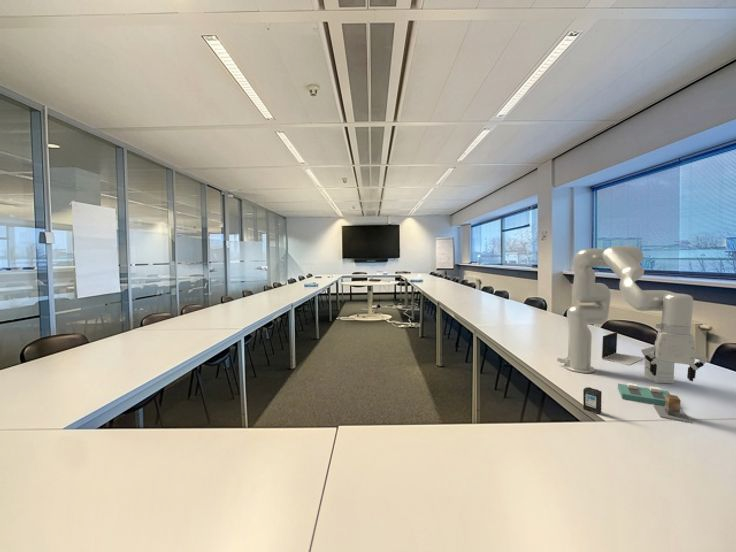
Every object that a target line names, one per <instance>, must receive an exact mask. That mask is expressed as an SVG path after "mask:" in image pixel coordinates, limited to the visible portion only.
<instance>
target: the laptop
mask: <svg viewBox="0 0 736 552" xmlns="http://www.w3.org/2000/svg"><path fill="white" fill-rule="evenodd" d="M601 345H602V346H601V359H602V360H604V359H605V360H604V361H610V362H612V361H613V362H615V363H618V364H622V365H626V366H631V365H633V364H635V363H637V362H639V361H641V360H643V358H641V357H637V356H632V355H627V354H623V353H618V352H617V350H618V349H617V347H618V346H617V345H618V332H617V331H615V332H612V333H608V334H605V335H603V336H602V343H601Z"/></svg>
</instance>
